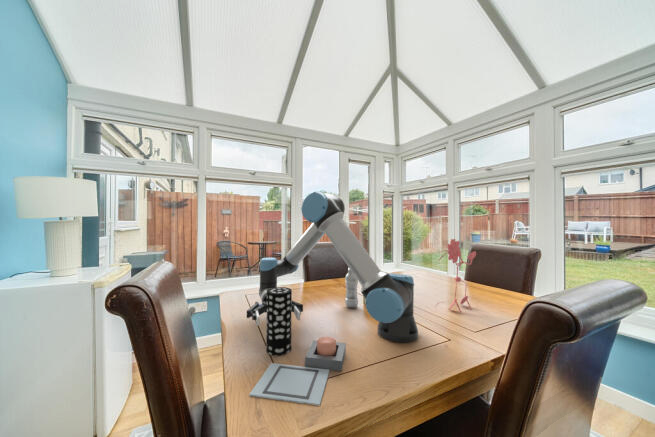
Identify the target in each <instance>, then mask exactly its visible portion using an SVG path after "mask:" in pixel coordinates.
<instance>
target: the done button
mask: <svg viewBox="0 0 655 437" xmlns="http://www.w3.org/2000/svg"><path fill="white" fill-rule="evenodd" d="M336 342H337V340H336V339H335V338H334V337H330V336H322V337H320V338H318V339H317V355H324V356H333V357H336Z"/></svg>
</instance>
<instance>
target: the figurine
mask: <svg viewBox="0 0 655 437" xmlns="http://www.w3.org/2000/svg"><path fill="white" fill-rule="evenodd" d="M460 244H461V243H460V241H459V240H456V238H451V239H450V243H447V245H446V247H447V251H446V252H445V253H444V254H442V256H441V257H440V258H439V259H438V261H440V260H442V258H443V257H445V255H447V254H448V257H447V259H448V261H450V260H451V261H452V264H455V265H456V276H455V278H454V281H455V293H454V300H453V302H452V303H451V305H450V307H449V308H448V310H451V309H452V308H453V306H454V305H455V304H456V307H457V308H458V310H459V313H460V312H461V313H462V310H461V309H460V306H459V304H460V305H461V306H462V305H463V304H464V303H467V305H468V307H469V309H470V308H471V309H472V307H471V304H470V302H469V301H468V299H469V296H468V295H467V285H468V284H467V282H466V281H463V280H462V278H461V277H460V276H458V274H459V273H458V272H459V267H460V266H461V265H462V264H466V265H469V266H471V265H472V263H473V260H474V259H475V258H476V256H477V252H476V250H475V251H472V252H470V253H469V254H468V256H467V259H468V261H470V262H469V263H468V262H465V261H463V260H464V259H463V258H462V252H461V247H460ZM459 259H460V260H461V261H460V262H458V260H459ZM459 282H462V283H464V284H465V294H464V297H463V298H462V299H461V300H460V303H459V304H458V301H457V300H458V298H456V297H457V289H458V288H457V286H458V285H457V283H459ZM441 303H443V301H441V302H440V304H441ZM437 305H438V303H436V304H435V306H437ZM477 307H480V306H479V305H477Z"/></svg>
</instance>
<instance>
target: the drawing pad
mask: <svg viewBox="0 0 655 437" xmlns="http://www.w3.org/2000/svg"><path fill="white" fill-rule="evenodd" d="M330 371H331V370H328V369H319V368H310V367H305V366H299V365H292V364H284V363H283V364H282V363H275V362H271V363H270V364H269V366H268V367H267V369H266V370H265V371H264V372H263V374H262V376H261V377H260V379H259V380H258V381H257V382H256V384H255V386H254V387H253V388H252V390H251V391H250V393H249V397H255V398H263V399H267V400H268V399H269V400H270V399H271V400H276V401H282V400H283V402H290V401H291V402H290V403H299V404H304V403H306V404H305V405H311V404H314V405H313V406H318V405H321V403H322V399H323V395H324V392H325V388H326V386H327V381H328V378H329V374H330Z"/></svg>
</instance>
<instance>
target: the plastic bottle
mask: <svg viewBox="0 0 655 437" xmlns="http://www.w3.org/2000/svg"><path fill="white" fill-rule="evenodd" d="M347 267H348V268H347V273H346V274H345V277H344V280H345V292H346V293H345V299H344V300H345V301H344V303H345V306H346V307H347V308H349V309H355V308H358V307H359V306H358V305H359V298H358V282H359V281H358V279H357V278H356V277H355V275H354V274H353V272H352V271H351V269H350V268H349V266H347Z"/></svg>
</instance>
